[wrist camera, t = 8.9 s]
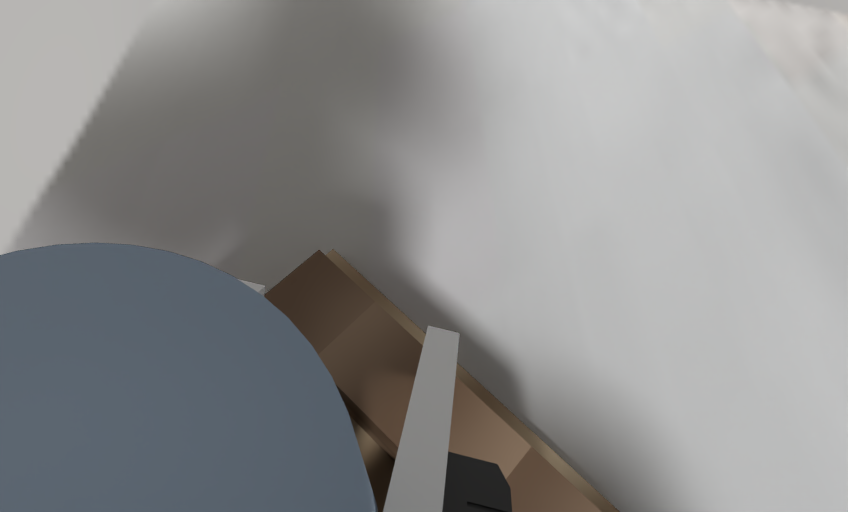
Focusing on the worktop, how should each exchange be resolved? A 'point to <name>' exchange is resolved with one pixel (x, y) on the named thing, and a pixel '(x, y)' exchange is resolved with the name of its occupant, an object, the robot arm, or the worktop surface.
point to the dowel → (162, 391)
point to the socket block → (393, 383)
